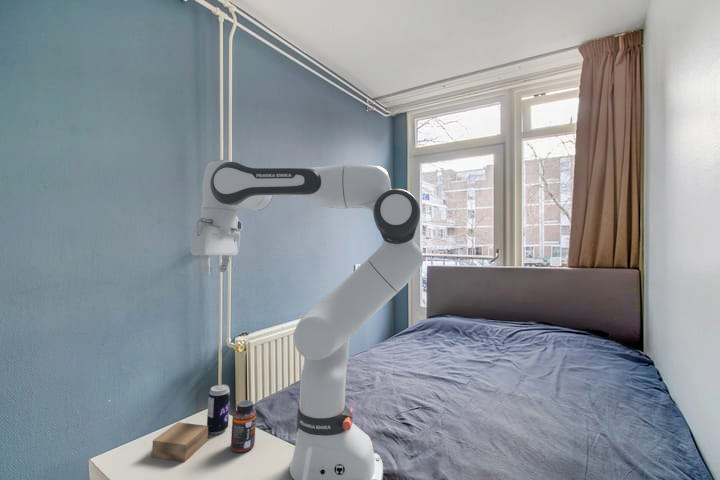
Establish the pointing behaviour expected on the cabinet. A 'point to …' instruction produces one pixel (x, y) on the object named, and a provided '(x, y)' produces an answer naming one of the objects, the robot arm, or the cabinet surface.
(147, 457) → the cabinet surface
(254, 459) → the cabinet surface
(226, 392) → the beverage can
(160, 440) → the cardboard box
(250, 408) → the supplement bottle
